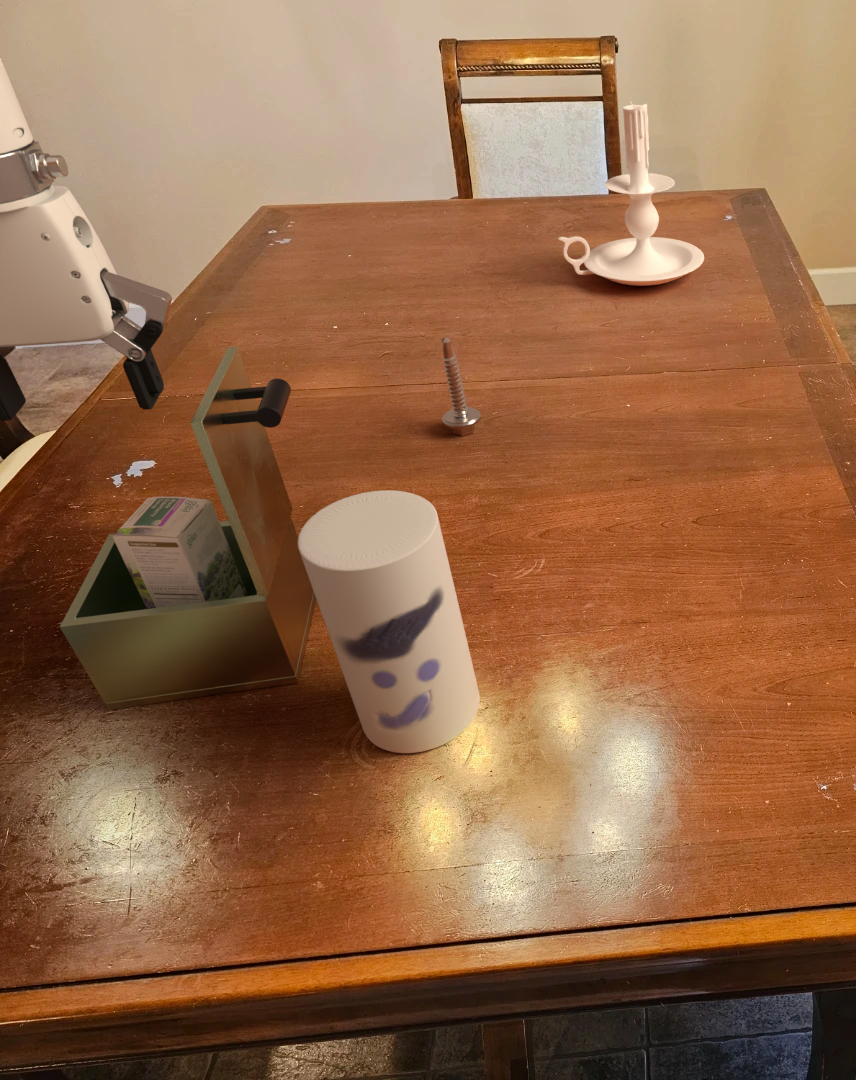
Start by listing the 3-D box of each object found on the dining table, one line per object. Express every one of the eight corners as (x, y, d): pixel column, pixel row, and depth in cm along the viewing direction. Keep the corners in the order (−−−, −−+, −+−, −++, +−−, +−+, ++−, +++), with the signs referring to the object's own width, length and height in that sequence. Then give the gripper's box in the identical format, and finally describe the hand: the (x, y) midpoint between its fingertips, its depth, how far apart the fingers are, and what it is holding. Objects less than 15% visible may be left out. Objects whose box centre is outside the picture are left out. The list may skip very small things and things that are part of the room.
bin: (108, 710, 81) (59, 626, 75) (149, 614, 91) (108, 534, 85) (298, 683, 83) (265, 600, 77) (317, 592, 93) (289, 513, 87)
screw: (467, 444, 116) (437, 435, 118) (491, 426, 120) (461, 418, 121) (448, 348, 108) (416, 341, 110) (474, 332, 112) (442, 325, 113)
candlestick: (548, 267, 163) (527, 95, 146) (679, 247, 171) (674, 82, 154) (580, 311, 148) (561, 125, 131) (722, 287, 156) (722, 108, 139)
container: (386, 774, 75) (321, 586, 63) (346, 700, 82) (279, 517, 69) (499, 718, 80) (458, 534, 68) (452, 653, 86) (408, 473, 74)
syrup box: (200, 619, 89) (143, 494, 80) (261, 620, 89) (210, 495, 80) (170, 661, 84) (106, 534, 76) (234, 662, 84) (177, 535, 75)
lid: (189, 423, 67) (263, 416, 68) (227, 347, 77) (290, 342, 78) (258, 596, 77) (321, 589, 78) (283, 509, 87) (339, 503, 88)
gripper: (138, 156, 65) (215, 375, 76) (-140, 166, 62) (-21, 393, 73) (105, 187, 59) (193, 420, 70) (-205, 200, 56) (-65, 442, 67)
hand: (83, 406), depth 71 cm, fingers open, 9 cm apart
